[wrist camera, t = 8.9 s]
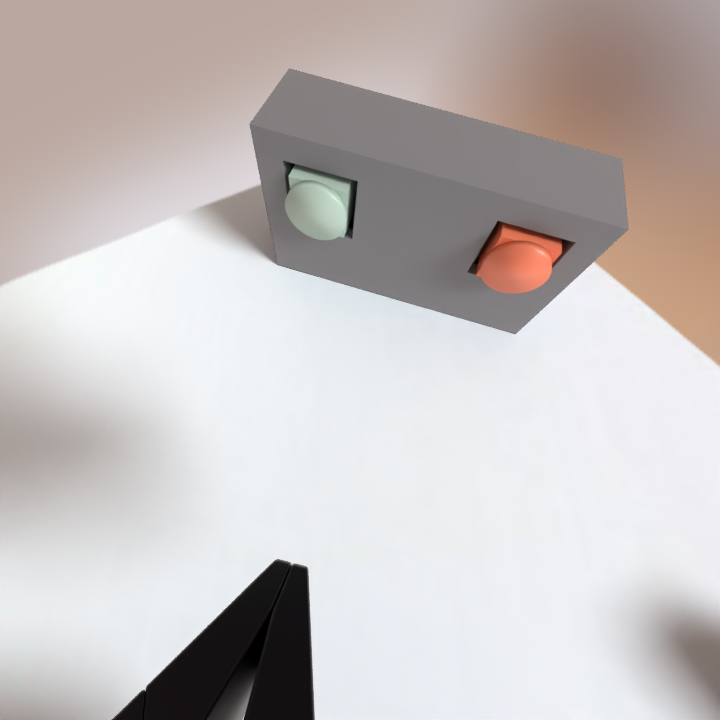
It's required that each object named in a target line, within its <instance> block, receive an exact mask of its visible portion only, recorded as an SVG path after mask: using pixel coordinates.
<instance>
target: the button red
mask: <svg viewBox="0 0 720 720" xmlns="http://www.w3.org/2000/svg"><path fill="white" fill-rule="evenodd" d="M561 253H562V239H561V238H558V237H554V236H551V235H547V234H544V233H540V232H536V231H533V230H529V229H526V228H522V227H519V226H515V225H511V224H508V223H504V222H501V221H497V223H496V225H495V226H494V228H493V230H492V231H491V233H490V235H489V236H488V238H487V240H486V242H485V243H484V245H483V247H482V248H481V250H480V255H479V261H478V267H477V273H476V276H479V277H482V280H483V281H484V283H485V284H486V285H487V286H489V287H490V288H492V289H494V290H496V291H499V292H503V293H524V292H528V291H531V290H534V289H536V288H538V287H540V286H541V285H543V284H544V283H545V282H546V281H547V280H548V279H549V277H550V275H551V271H552V263H553V262H554V261H555V260H556V259H557V258H558V257H559V256H560V255H561Z"/></svg>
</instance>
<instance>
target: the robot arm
mask: <svg viewBox="0 0 720 720" xmlns="http://www.w3.org/2000/svg"><path fill="white" fill-rule="evenodd" d="M245 712H246V713H245ZM244 714H245V717H244ZM243 717H244V720H315V716H314V692H313V669H312V646H311V622H310V599H309V576H308V568H307V567H306V566H303V565H299V564H293V565H291V563H290V562H288V561H284V560H280V559H277V560H275V561H274V562H273V563H272V564H270V565H269V566H268V567H267V568H266V569H265V570H264V571H263V572H262V573H261V574H260V575H259V576H258V577H257V578H256V579H255V580H254V581H253V582H252V583H251V584H250V585H249V586H248V587H247V588H246V589H245V590H244V591H243V592H242V593H241V594H240V595H239V596H238V597H237V598H236V599H235V600H234V601H233V602H232V603H231V604H230V605H229V606H228V607H227V608H226V609H225V610H224V611H223V612H222V613H221V614H220V615H219V616H218V617H217V618H216V619H214V620H213V621H212V622H211V623H210V624H209V625H208V626H207V627H206V628H205V629H204V630H203V631H202V632H201V633H200V634H199V635H198V636H197V637H196V638H195V639H194V640H193V641H192V642H191V643H190V644H189V645H188V646H187V647H186V648H185V649H184V650H183V651H182V652H181V653H180V654H179V655H178V656H177V657H176V658H175V659H174V660H173V661H172V662H171V663H170V664H169V665H168V666H167V667H166V668H165V669H164V670H163V671H162V672H161V673H160V674H158V675H157V676H156V677H155V678H154V679H153V680H152V681H151V682H150V683H149V684H148V685H147V687H146V692H145V690H142V691H141V692H140V693H139V694H138V695H137V696H136V697H135V698H134V699H133V700H132V701H131V702H130V703H129V704H128V705H127V706H126V707H125V708H124V709H123V710H122V711H121V712H119V713H118V714H117V715H116V716H115V717H114V718H113V719H112V720H242V719H243Z"/></svg>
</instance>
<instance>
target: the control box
mask: <svg viewBox="0 0 720 720" xmlns="http://www.w3.org/2000/svg"><path fill="white" fill-rule="evenodd" d="M250 129H251V134H252V139H253V144H254V149H255V154H256V159H257V163H258V169H259V174H260V179H261V184H262V189H263V194H264V199H265V205H266V210H267V215H268V220H269V225H270V230H271V235H272V240H273V245H274V250H275V255H276V260H277V265H280V266H283V267H287V268H290V269H294V270H297V271H301V272H304V273H308V274H311V275H314V276H318V277H321V278H325V279H328V280H332V281H335V282H338V283H342V284H345V285H349V286H352V287H356V288H359V289H363V290H366V291H369V292H373V293H376V294H380V295H383V296H387V297H390V298H394V299H397V300H400V301H404V302H407V303H411V304H414V305H418V306H421V307H425V308H428V309H431V310H435V311H438V312H442V313H445V314H449V315H452V316H455V317H459V318H462V319H466V320H469V321H473V322H476V323H480V324H483V325H486V326H490V327H493V328H497V329H500V330H504V331H507V332H511V333H514V334H516V333H517V332H518V331H520V330H521V329H522V328H523V327H524V326H525V325H526V324H527V323H528V322H529V321H530V320H531V319H532V318H534V317H535V316H536V315H537V314H538V313H539V312H540V311H541V310H542V309H543V308H544V307H545V306H546V305H548V304H549V303H550V302H551V301H552V300H553V299H554V298H555V297H556V296H557V295H558V294H559V293H560V292H562V291H563V290H564V289H565V288H566V287H567V286H568V285H569V284H570V283H571V282H572V281H573V280H574V279H576V278H577V277H578V276H579V275H580V274H581V273H582V272H583V271H584V270H585V269H586V268H587V267H589V266H590V265H591V264H592V263H593V262H594V261H595V260H596V259H597V258H598V257H599V256H600V255H601V254H603V253H604V252H605V251H606V250H607V249H608V248H609V247H610V246H611V245H612V244H613V243H614V242H615V241H617V240H618V239H619V238H620V237H621V236H622V235H623V234H624V233H625V232H626V231H627V230H628V219H627V208H626V197H625V185H624V174H623V162H622V159H620V158H617V157H613V156H610V155H606V154H602V153H598V152H595V151H591V150H588V149H584V148H580V147H576V146H573V145H569V144H565V143H562V142H558V141H554V140H551V139H547V138H543V137H539V136H536V135H532V134H529V133H525V132H521V131H517V130H514V129H510V128H507V127H502V126H499V125H495V124H492V123H488V122H484V121H481V120H477V119H473V118H469V117H466V116H462V115H459V114H455V113H451V112H448V111H444V110H440V109H437V108H433V107H429V106H425V105H422V104H418V103H414V102H411V101H407V100H403V99H400V98H396V97H392V96H389V95H385V94H381V93H378V92H374V91H370V90H367V89H363V88H359V87H355V86H352V85H348V84H344V83H341V82H337V81H333V80H330V79H326V78H322V77H319V76H315V75H311V74H308V73H304V72H300V71H297V70H293V69H288V71H287V72H286V74H285V75H284V77H283V78H282V79H281V81H280V82H279V83H278V85H277V86H276V88H275V89H274V91H273V92H272V93H271V95H270V96H269V98H268V99H267V100H266V102H265V103H264V105H263V106H262V108H261V109H260V110H259V112H258V113H257V114H256V116H255V117H254V119H253V120H252V121H251V123H250ZM295 164H298V165H301V166H305V167H308V168H312V169H315V170H319V171H322V172H326V173H330V174H333V175H337V176H340V177H344V178H347V179H351V180H355V181H358V185H357V195H356V206H355V211H354V214H353V216H352V219H351V221H350V223H349V226H348V228H347V231H346V233H345V236H344V238H343V237H337V238H335V239H333V240H318V239H314V238H312V237H309V236H307V235H306V234H304V233H302V232H301V231H300V230H299V229H297V228H296V227H295V226H294V224H293V223H292V222H291V221H290V219H289V217H288V215H287V213H286V210H285V199H286V196H287V194H288V193H289V191H290V185H289V174H290V173H291V171H292V169H293V167H294V166H295ZM497 221H501V222H504V223H508V224H511V225H515V226H519V227H522V228H526V229H529V230H533V231H536V232H540V233H544V234H547V235H551V236H554V237H558V238H561V239H562V253H561V255H560V256H559V257H558V258H557V259H556V260H555V261H554V262H553V263H552V271H551V275H550V277H549V279H548V280H547V281H546V282H545V283H544V284H543V285H541V286H540V287H538V288H536V289H534V290H531V291H528V292H524V293H503V292H499V291H496V290H494V289H492V288H490V287H489V286H487V285H486V284H485V283H484V281H483V280H482V277H479V276H476V273H477V267H478V261H479V255H480V250H481V248H482V247H483V245H484V243H485V242H486V240H487V238H488V236H489V235H490V233H491V231H492V230H493V228H494V226H495V225H496V223H497Z"/></svg>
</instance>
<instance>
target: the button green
mask: <svg viewBox="0 0 720 720" xmlns="http://www.w3.org/2000/svg"><path fill="white" fill-rule="evenodd" d="M289 185H290V191H289V193H288V194H287V196H286V199H285V210H286V213H287V215H288V217H289V219H290V221H291V222H292V223H293V224H294V226H295V227H296V228H297V229H299V230H300V231H301V232H302V233H304V234H306V235H307V236H309V237H312V238H314V239H318V240H333V239H335V238H337V237H343V238H344V236H345V233H346V231H347V228H348V226H349V223H350V221H351V219H352V216H353V214H354V211H355V206H356V195H357V185H358V181H355V180H351V179H347V178H344V177H340V176H337V175H333V174H330V173H326V172H322V171H319V170H315V169H312V168H308V167H305V166H301V165H298V164H295V166H294V167H293V169H292V171H291V173H290V174H289Z"/></svg>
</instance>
